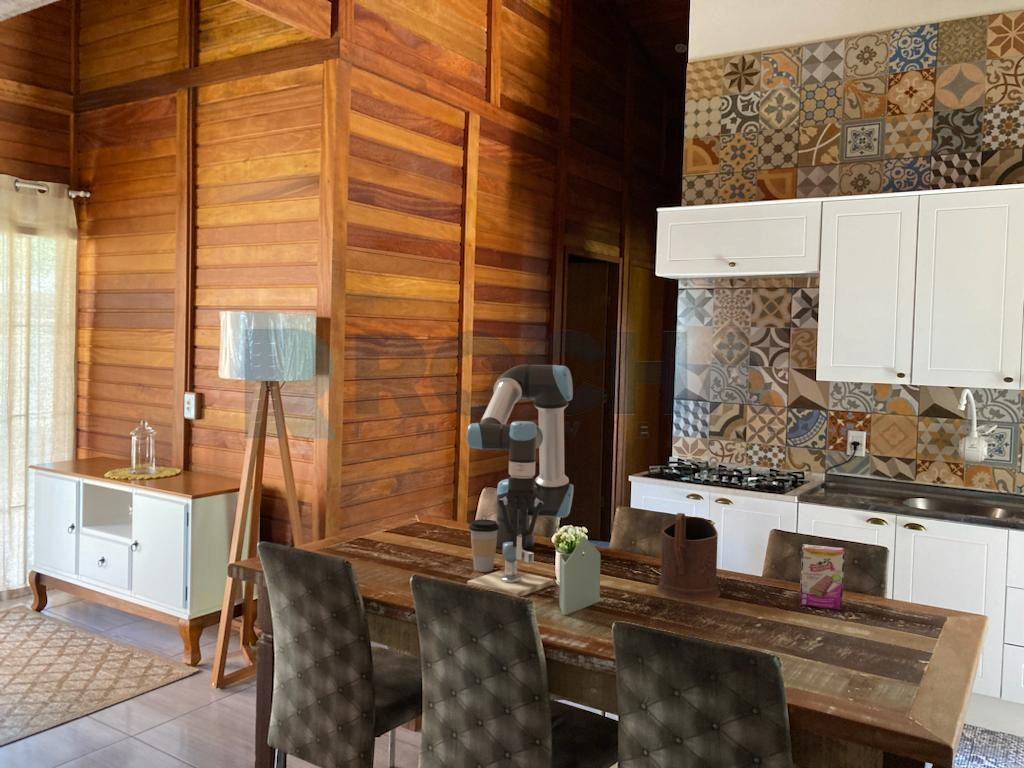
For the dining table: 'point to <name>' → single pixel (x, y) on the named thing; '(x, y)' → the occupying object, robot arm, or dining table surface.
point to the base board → (521, 588)
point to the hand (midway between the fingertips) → (519, 558)
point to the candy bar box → (822, 576)
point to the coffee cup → (483, 543)
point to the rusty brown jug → (689, 559)
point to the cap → (510, 553)
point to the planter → (579, 578)
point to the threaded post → (510, 572)
